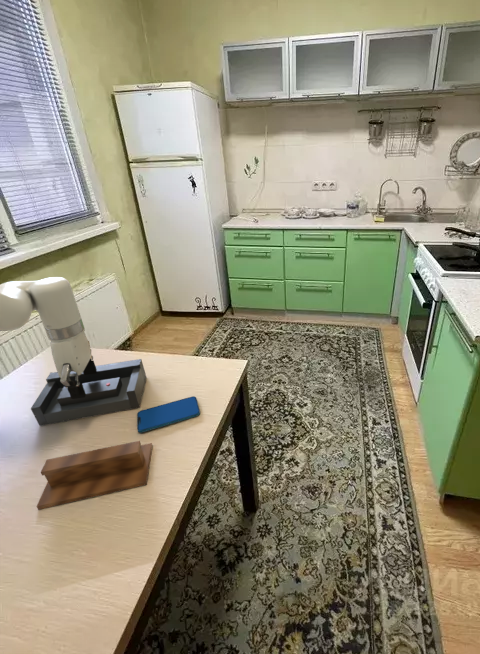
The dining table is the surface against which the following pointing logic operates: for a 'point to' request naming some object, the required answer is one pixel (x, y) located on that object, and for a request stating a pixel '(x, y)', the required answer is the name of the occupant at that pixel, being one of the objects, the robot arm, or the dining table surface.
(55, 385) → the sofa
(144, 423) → the smartphone
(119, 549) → the dining table surface
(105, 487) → the stepped wooden stand
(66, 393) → the remote
